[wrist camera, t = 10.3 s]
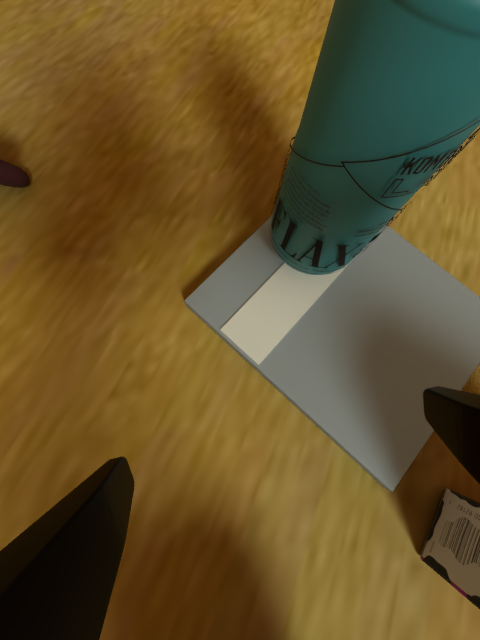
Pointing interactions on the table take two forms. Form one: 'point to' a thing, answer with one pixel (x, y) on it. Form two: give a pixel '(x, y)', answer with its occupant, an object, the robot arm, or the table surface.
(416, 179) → the beverage bottle
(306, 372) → the grey flat rectangular block
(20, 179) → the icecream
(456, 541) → the candy bar box
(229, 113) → the table surface
